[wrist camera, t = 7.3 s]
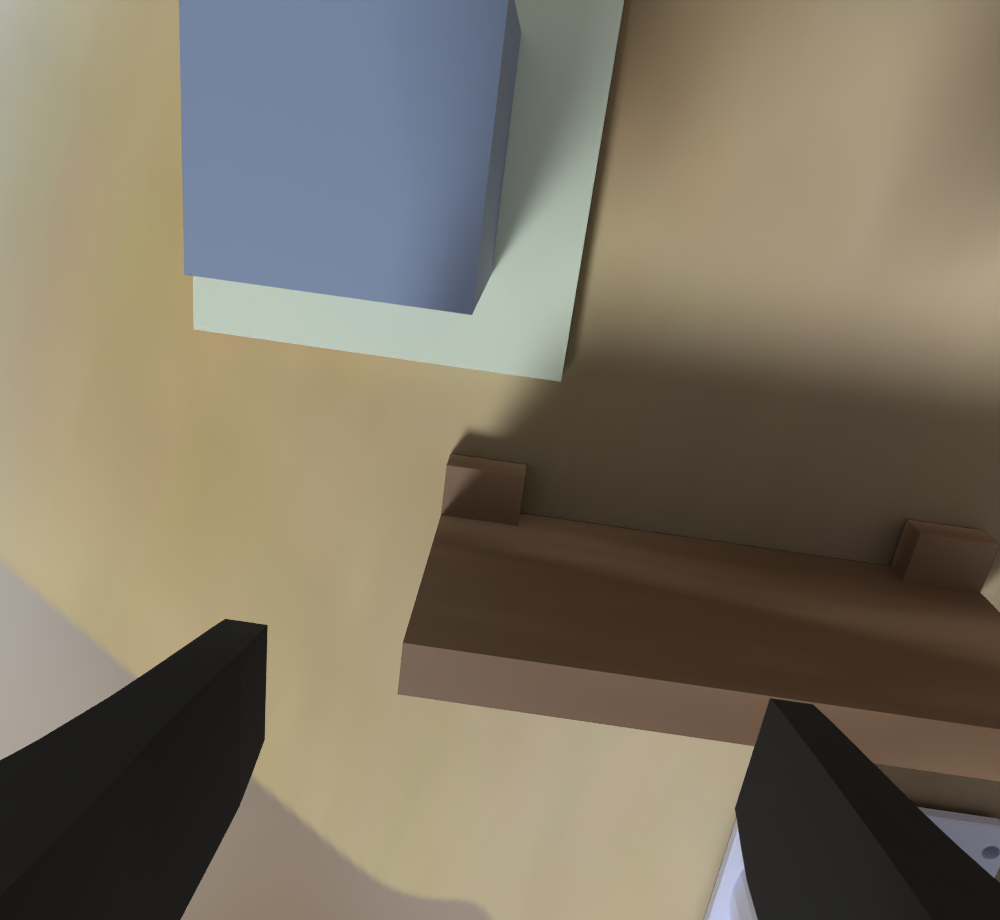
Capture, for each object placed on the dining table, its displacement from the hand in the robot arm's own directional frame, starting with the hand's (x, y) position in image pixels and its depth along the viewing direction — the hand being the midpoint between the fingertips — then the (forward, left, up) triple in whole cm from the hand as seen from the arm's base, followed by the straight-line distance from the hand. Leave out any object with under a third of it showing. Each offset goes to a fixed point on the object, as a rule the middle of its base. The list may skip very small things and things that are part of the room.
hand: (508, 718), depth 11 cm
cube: (+7, +4, -9) cm, 12 cm away
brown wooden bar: (-2, -5, -10) cm, 11 cm away
